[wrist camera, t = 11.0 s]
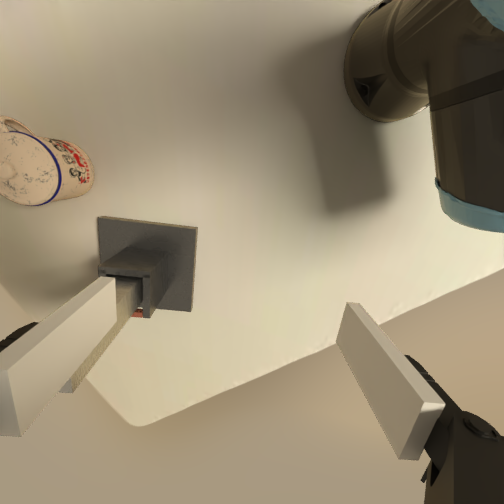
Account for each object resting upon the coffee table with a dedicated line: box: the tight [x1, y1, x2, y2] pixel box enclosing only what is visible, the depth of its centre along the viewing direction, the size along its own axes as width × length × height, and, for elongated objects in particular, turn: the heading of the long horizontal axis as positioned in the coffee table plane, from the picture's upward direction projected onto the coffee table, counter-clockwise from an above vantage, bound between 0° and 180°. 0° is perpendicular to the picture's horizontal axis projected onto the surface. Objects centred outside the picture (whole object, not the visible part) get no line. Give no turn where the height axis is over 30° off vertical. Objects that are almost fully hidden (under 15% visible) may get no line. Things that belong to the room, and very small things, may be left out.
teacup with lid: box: [0, 116, 94, 206], centre depth 34 cm, size 12×9×12 cm
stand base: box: [98, 216, 198, 318], centre depth 41 cm, size 16×16×10 cm
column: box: [59, 275, 143, 393], centre depth 30 cm, size 5×4×18 cm
